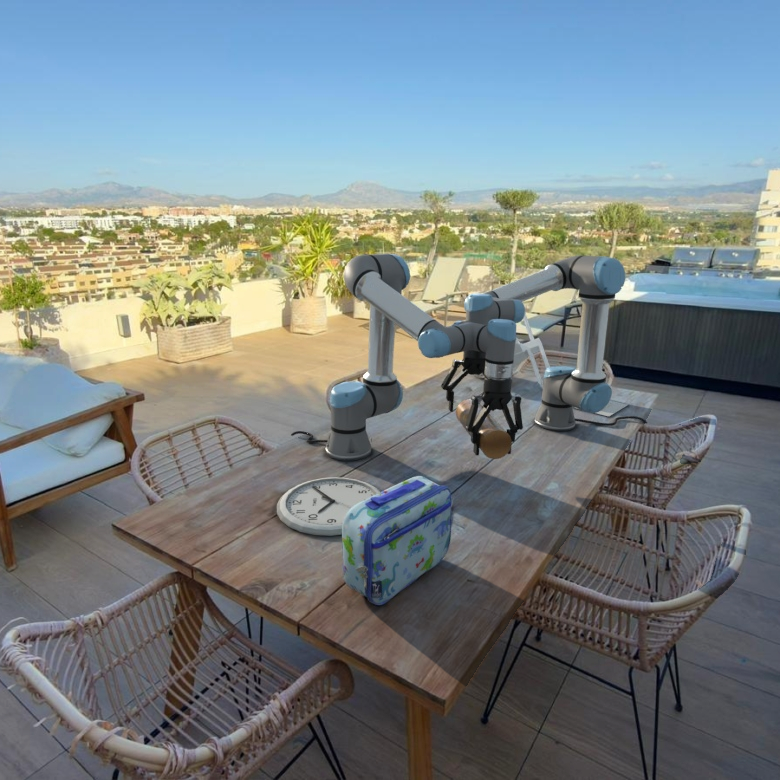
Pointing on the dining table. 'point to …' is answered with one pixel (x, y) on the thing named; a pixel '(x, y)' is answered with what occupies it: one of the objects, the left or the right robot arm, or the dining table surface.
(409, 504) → the lunch box
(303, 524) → the wall clock
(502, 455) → the rod
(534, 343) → the white plastic object
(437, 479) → the dining table surface
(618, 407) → the invitation card
